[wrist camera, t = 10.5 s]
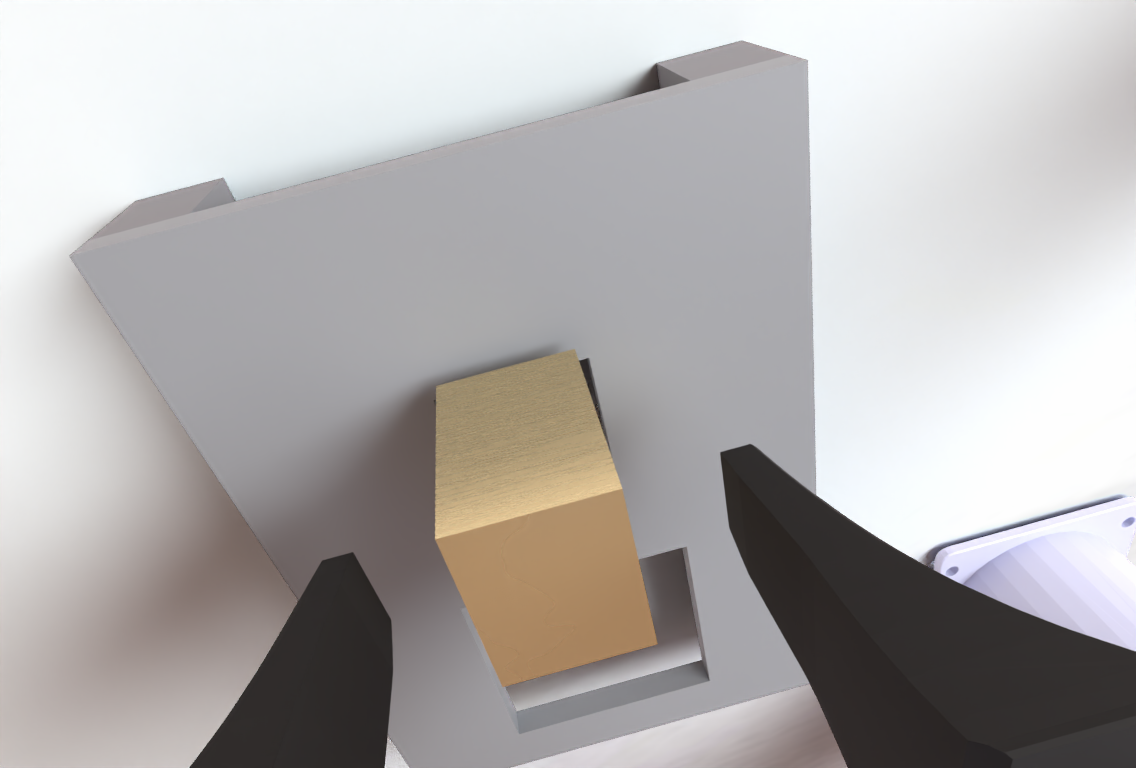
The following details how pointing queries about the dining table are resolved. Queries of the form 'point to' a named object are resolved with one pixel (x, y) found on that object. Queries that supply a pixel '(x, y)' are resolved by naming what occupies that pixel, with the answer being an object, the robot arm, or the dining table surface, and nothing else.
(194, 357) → the keyhole board
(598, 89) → the dining table surface
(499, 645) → the keyhole peg
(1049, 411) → the dining table surface
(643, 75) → the dining table surface
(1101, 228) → the dining table surface
